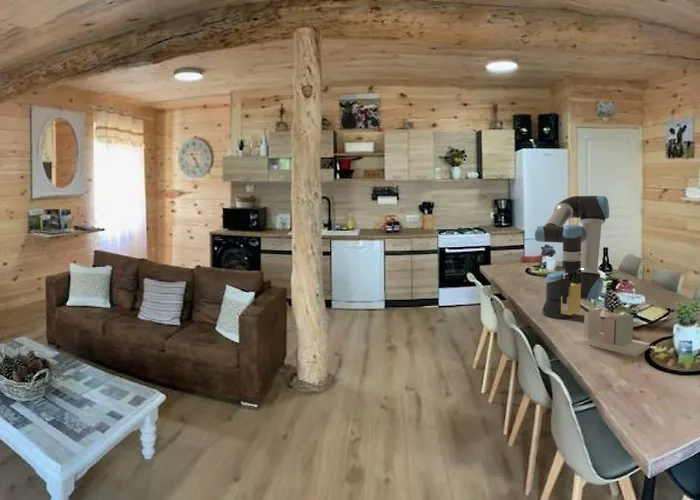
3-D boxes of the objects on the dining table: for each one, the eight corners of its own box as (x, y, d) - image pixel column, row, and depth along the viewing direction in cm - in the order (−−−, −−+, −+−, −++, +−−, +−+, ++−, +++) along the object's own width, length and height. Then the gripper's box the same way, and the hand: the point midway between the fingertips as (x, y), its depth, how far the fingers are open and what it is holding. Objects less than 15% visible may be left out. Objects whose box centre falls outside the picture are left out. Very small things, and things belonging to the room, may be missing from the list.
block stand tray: (582, 343, 213) (583, 313, 211) (597, 335, 222) (598, 306, 219) (635, 356, 196) (637, 324, 194) (649, 347, 204) (651, 316, 202)
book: (560, 313, 217) (561, 285, 215) (570, 308, 222) (571, 281, 220) (570, 315, 214) (571, 287, 211) (580, 310, 219) (580, 283, 217)
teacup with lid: (606, 337, 219) (607, 313, 217) (589, 331, 227) (590, 308, 225) (624, 332, 224) (625, 308, 222) (607, 327, 232) (608, 304, 230)
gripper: (567, 265, 204) (566, 315, 208) (591, 256, 217) (590, 303, 221) (551, 263, 210) (550, 311, 214) (575, 254, 223) (574, 300, 227)
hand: (570, 307), depth 218 cm, fingers closed on book, 9 cm apart
